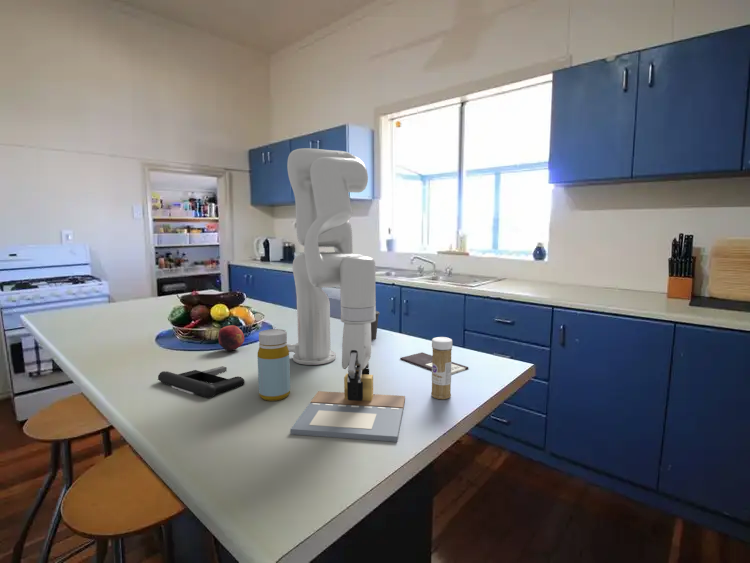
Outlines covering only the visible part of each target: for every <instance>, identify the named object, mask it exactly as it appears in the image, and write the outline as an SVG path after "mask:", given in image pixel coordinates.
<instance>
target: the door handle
mask: <svg viewBox="0 0 750 563" xmlns="http://www.w3.org/2000/svg"><path fill="white" fill-rule="evenodd" d="M227 369H228V368H227V366H222V365H221V366H218V367H215V368H211V369H207V370H202V371H201V370H197V369H193V370H190V371H186V372H182V373H174V372H171V371H167V370H166V371H161V372H160V373H158V375H157V376H158V377H157V378H158V379H157V381H159V382H160V383H162V384H165V385H167V386H170V387H171V388H172V389H175V390H177V389H178V391H180V392H184V393H186V394H189V395H196V396H201V397H204V398H206V399H207V398H208V399H210V398H213V397H214V396H216V395H218V394H221V393H223V392H227V391H230V390H234V389H236V388H238V387H242V386H244V385H245V383H246V381H245V379H244V378H243V377H242V376H234V377H231V378H226V377H222V376H220V374H223V373H225V371H226V372H227ZM222 372H223V373H222ZM219 373H220V374H219ZM218 375H219V376H218ZM207 382H208V383H207Z"/></svg>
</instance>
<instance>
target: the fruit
mask: <svg viewBox="0 0 750 563" xmlns="http://www.w3.org/2000/svg"><path fill="white" fill-rule="evenodd" d="M244 342H245V335H244V333H243V330H242V329H240V328H239V327H238V326H236V325H232V324H231V325H226V326H223V327H222V328H220V329H219V330H218V344H219V346H220V347H222V348H223V349H224V350H226V351H227V352H231V351H232V350H233V351H235V350H236V349H238V348H240V347H241V346H242V345H243V344H244Z"/></svg>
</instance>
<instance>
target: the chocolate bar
mask: <svg viewBox="0 0 750 563" xmlns="http://www.w3.org/2000/svg"><path fill="white" fill-rule="evenodd" d="M432 356H433V354H432V355H431V354H428V353H425V352H418V353H414V354H411V355H410V354H409V355H406V356H401V357H400V361H403V362H406V363H409V364H410V365H415V366H418V367H419V366H420V368H422V369H426V370H428V371H431V372H432V360H433V359H432V358H433V357H432ZM467 370H469V366H466V365H463V364H460V363H457V362H454V361H451V375H454V374H458V373H460V372H463V371H467Z"/></svg>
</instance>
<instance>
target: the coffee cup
mask: <svg viewBox="0 0 750 563" xmlns="http://www.w3.org/2000/svg"><path fill="white" fill-rule="evenodd" d="M379 315H381V313H380V311H378V310H376V320H375V321H374V322H372V323H371V341H372V340H373V339H374V340H377V334H378V333H377V332H378V323H379ZM374 340H373V341H374Z"/></svg>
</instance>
